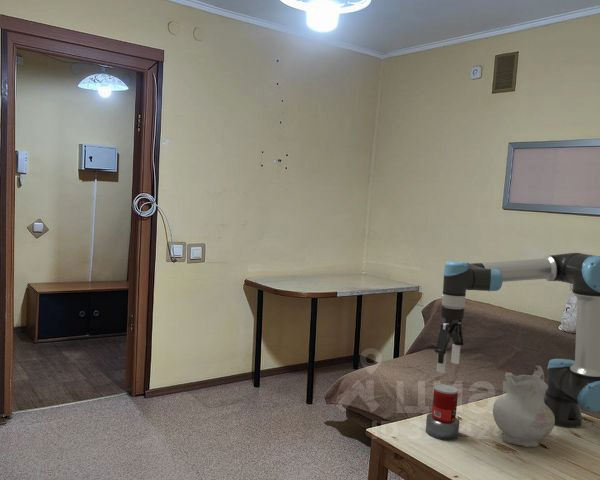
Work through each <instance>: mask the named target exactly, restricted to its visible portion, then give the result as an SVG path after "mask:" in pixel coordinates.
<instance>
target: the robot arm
mask: <svg viewBox="0 0 600 480" xmlns="http://www.w3.org/2000/svg"><path fill="white" fill-rule="evenodd" d="M536 280H546V281H547V282H561V283H567V284H571V285H572V294H573V295H574V296H575V297H576V299H577V300H576V322H575V323H576V324H575V351H574V353H575V355H574V360H572V359H565V358H553V359H550V360H549V361H548V365H547V372H546V373H547V374H546V382H545V383H546V384H547V385H548V389H547V391H546V392H545V394H544V402H545V404H546V405H547V406H548V407H549V408H550V410H551V411H552V412H553V414H554V417H555V424H554V426H558V427H559V426H560V427H563V428H579V427H581V426H582V424H583V415H582V411H581V408H582V409H585V410H587V411H590V412H594V413H599V412H600V255H593V254H586V253H583V252H582V253H581V252H568V253H561V254H559V253H558V254H553V255H552V254H551V255H550V254H549V255H545V256H544V257H543V258H534V259H519V260H517V259H515V260H504V261H491V262H489V261H488V262H476V263H475V262H474V263H469V262H464V261H459V260H449V261H446V262H445V264H444V269H443V283H442V295H441V296H440V297H441V305H442V306H441V309H440V317H441V318H443V319H444V323H443V322H441V323H440V328H439V329H440V330H439V335H438V338H437V342H436V345H435V349H434V353H437V356H436V357H437V358H436V359H437V360H436V372H438V373H441V374H446V364H447V349H448V347H449V344H450V341H451V340H452V342H453V344H452V345H451V356H450V357H451V359H450V363H452V364H455V365H460V358H461V347H462V346H464V334H463V324H462V323H463V320H464V319H465V309H464V307H465V306H466V295H467V291H480V292H481V291H482V292H484V291H486V292H497V291H499V290H500V289H501V288H502V286H503V283H506V282H517V281H518V282H519V281H536ZM451 338H452V339H451Z"/></svg>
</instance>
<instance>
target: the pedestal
mask: <svg viewBox="0 0 600 480" xmlns="http://www.w3.org/2000/svg"><path fill="white" fill-rule="evenodd" d="M425 421H426V422H425V434H427V435H428V436H430V437H431V438H433V439H436V440H439V441H440V440H441V441H448V442H449V441H454V440H457V439H458V438H459V432H460V419H458V418H457V417H456V419H455V421H454V422H453V423H441V422H438V421H436V420H434V419H433V417H432V412H431V413H428V414H427V415H426V420H425Z"/></svg>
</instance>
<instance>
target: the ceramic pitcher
mask: <svg viewBox="0 0 600 480" xmlns="http://www.w3.org/2000/svg"><path fill="white" fill-rule="evenodd" d="M504 378H505V381H506V385H507V393H506V394H505V395H504V396H501V397H499V398H497V399H496V400H495V401H494V403H493V406H492V407H493V408H492V416H493V420H494V422H495V424H496V426H497V428H498V429H499V430H500V431H502V432H503V433H502V435H501V437H500V438H501V440H502V442H504V443H506V444H507V443H509V444H512V445H518V446H521V447H526V448H536V447H539V446H540V443H539V441H540V440H544V439H545V438H547V437H548V436H549V435H550V434H551V432H552V431H553V429H554V426H555V417H554V414H553V412H552V411H551V410H550V408H549V407H548V406H547V405H546V404H545V402H544V397H545V392H546V391H547V389H548V385H547V384H546V382H545V373H544V369H543V367H542V366H541V365H539V364H538V365H537V364H536V365H535V366H534V371H533V374H532V375H531V374H530V375H529V374H528V375H527V374H520V375H518V376H516V375H515V374H513V373H512V372H509V371H505V374H504Z"/></svg>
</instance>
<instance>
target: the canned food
mask: <svg viewBox="0 0 600 480" xmlns="http://www.w3.org/2000/svg"><path fill="white" fill-rule="evenodd" d="M458 396H459V389H458V388H457V387H454V386H453V385H450V384H445V383H443V384H442V383H440V384H439V383H438V384H435V385H434V388H433V397H432V407H431V409H432V410H431V413H432V417H433V419H434V420H436V421H438V422H441V423H453V422H454V421H455V419H456V418H457V407H458V398H459V397H458Z"/></svg>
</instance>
